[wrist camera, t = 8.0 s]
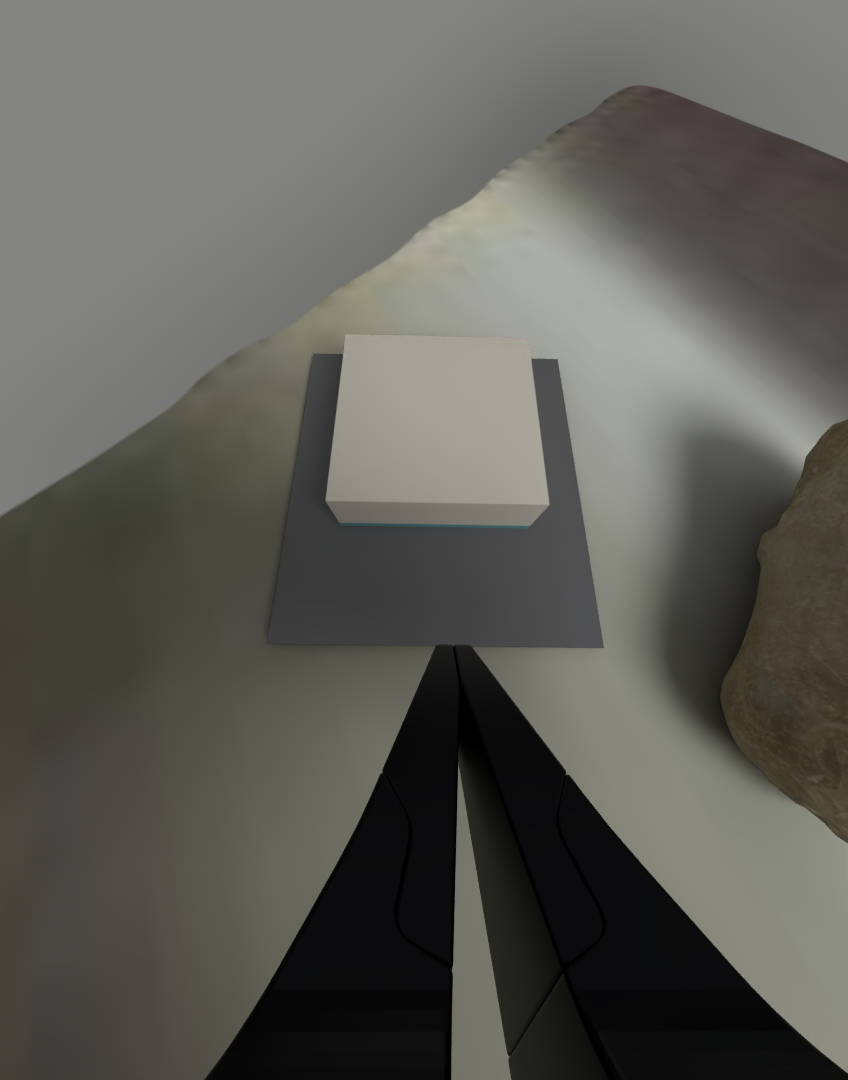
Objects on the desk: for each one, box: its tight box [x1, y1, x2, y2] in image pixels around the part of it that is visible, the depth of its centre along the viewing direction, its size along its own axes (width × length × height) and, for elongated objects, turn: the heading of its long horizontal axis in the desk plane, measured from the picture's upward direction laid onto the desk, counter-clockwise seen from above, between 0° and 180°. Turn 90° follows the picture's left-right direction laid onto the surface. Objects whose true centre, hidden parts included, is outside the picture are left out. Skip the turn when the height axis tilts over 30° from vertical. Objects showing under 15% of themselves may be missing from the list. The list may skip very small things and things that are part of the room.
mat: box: [267, 354, 604, 648], centre depth 18 cm, size 18×16×1 cm
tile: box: [325, 334, 549, 529], centre depth 17 cm, size 3×10×10 cm
